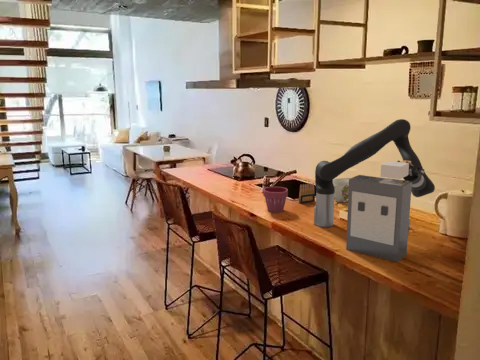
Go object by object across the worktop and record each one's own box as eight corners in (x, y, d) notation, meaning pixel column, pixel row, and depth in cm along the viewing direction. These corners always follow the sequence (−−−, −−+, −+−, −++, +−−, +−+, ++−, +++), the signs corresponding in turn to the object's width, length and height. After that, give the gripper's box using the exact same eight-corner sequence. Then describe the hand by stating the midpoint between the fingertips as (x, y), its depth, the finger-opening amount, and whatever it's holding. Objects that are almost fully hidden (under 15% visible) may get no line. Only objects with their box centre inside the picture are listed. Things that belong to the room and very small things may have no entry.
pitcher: (322, 201, 265) (323, 180, 262) (343, 197, 274) (344, 176, 271) (335, 205, 255) (336, 183, 252) (356, 200, 265) (357, 179, 262)
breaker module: (380, 176, 173) (381, 164, 172) (397, 168, 187) (398, 157, 186) (400, 179, 168) (400, 166, 166) (416, 170, 182) (417, 159, 180)
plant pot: (292, 211, 245) (292, 190, 242) (271, 215, 239) (271, 193, 236) (279, 205, 257) (279, 185, 254) (259, 209, 251) (258, 188, 248)
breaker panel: (344, 250, 187) (347, 178, 180) (356, 242, 196) (359, 174, 189) (396, 263, 173) (401, 186, 166) (406, 254, 181) (411, 181, 174)
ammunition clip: (300, 203, 261) (300, 184, 258) (298, 203, 263) (298, 184, 260) (314, 201, 265) (315, 182, 262) (313, 200, 267) (313, 182, 264)
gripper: (399, 167, 196) (387, 153, 183) (431, 170, 187) (421, 156, 175) (395, 182, 195) (383, 169, 182) (427, 186, 186) (417, 173, 173)
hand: (402, 163), depth 178 cm, fingers closed on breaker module, 3 cm apart
